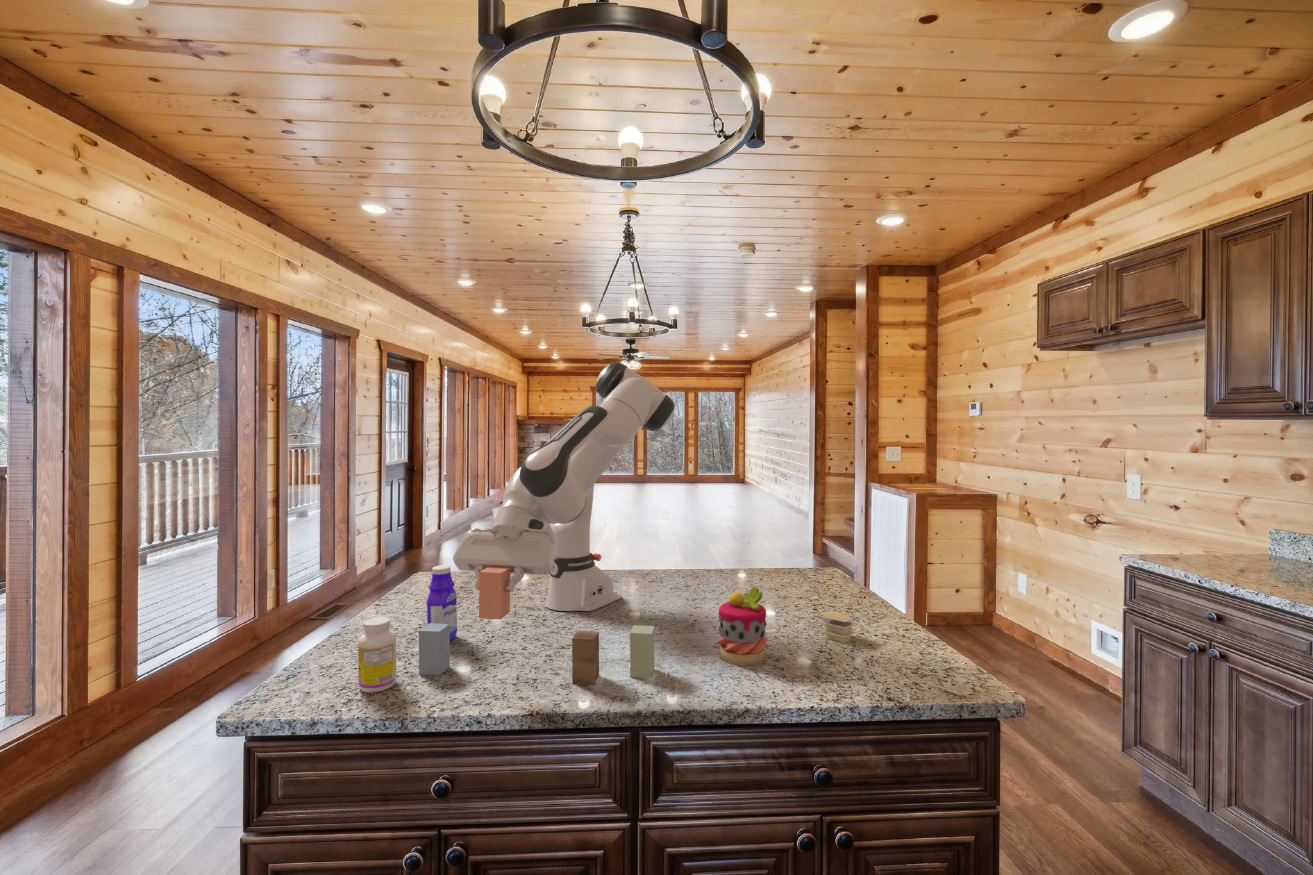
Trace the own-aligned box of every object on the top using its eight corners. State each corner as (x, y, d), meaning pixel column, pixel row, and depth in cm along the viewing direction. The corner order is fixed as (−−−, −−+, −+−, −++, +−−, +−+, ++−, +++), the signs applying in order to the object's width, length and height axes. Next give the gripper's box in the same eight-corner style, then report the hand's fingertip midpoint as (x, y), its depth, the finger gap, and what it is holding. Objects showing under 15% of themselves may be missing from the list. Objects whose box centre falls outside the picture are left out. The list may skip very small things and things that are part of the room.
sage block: (633, 667, 121) (633, 625, 121) (654, 668, 121) (654, 626, 121) (630, 676, 117) (630, 632, 117) (651, 678, 117) (651, 633, 116)
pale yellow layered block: (865, 640, 138) (865, 617, 138) (846, 650, 132) (846, 626, 132) (827, 629, 145) (827, 607, 145) (808, 638, 139) (808, 615, 139)
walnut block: (578, 674, 118) (577, 630, 118) (599, 675, 118) (599, 631, 118) (572, 683, 114) (572, 638, 114) (594, 685, 113) (594, 639, 113)
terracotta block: (488, 610, 116) (489, 566, 116) (509, 612, 115) (510, 567, 115) (479, 618, 111) (479, 571, 111) (500, 619, 111) (501, 572, 111)
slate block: (429, 665, 123) (429, 623, 122) (449, 666, 122) (449, 624, 122) (419, 674, 118) (418, 630, 118) (439, 675, 118) (439, 631, 118)
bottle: (444, 646, 133) (444, 571, 132) (422, 644, 134) (421, 569, 134) (461, 635, 140) (460, 563, 140) (440, 633, 141) (439, 562, 141)
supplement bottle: (367, 679, 116) (366, 615, 116) (401, 678, 116) (400, 614, 116) (352, 694, 109) (351, 627, 109) (388, 693, 110) (388, 626, 110)
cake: (736, 670, 120) (736, 598, 120) (709, 652, 130) (709, 586, 129) (776, 660, 125) (776, 592, 125) (747, 644, 134) (747, 580, 134)
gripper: (462, 519, 121) (437, 578, 112) (556, 523, 118) (539, 584, 109) (471, 536, 126) (448, 594, 116) (562, 541, 123) (547, 600, 114)
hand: (493, 589), depth 113 cm, fingers closed on terracotta block, 4 cm apart
